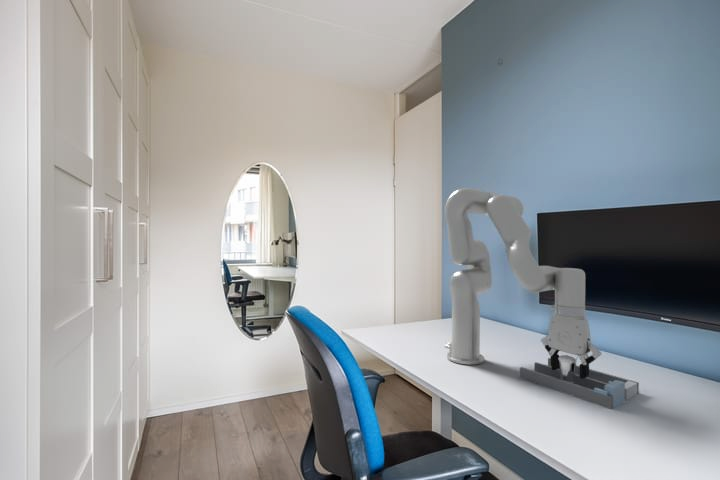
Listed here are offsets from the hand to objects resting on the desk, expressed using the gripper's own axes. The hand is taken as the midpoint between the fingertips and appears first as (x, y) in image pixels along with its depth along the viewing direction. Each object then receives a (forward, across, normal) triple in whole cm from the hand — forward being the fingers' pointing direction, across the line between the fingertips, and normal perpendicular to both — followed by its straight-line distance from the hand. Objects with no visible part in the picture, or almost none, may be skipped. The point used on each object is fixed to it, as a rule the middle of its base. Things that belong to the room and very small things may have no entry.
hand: (569, 372), depth 105 cm
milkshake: (+4, 0, 0) cm, 4 cm away
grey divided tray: (+4, 0, +4) cm, 6 cm away
